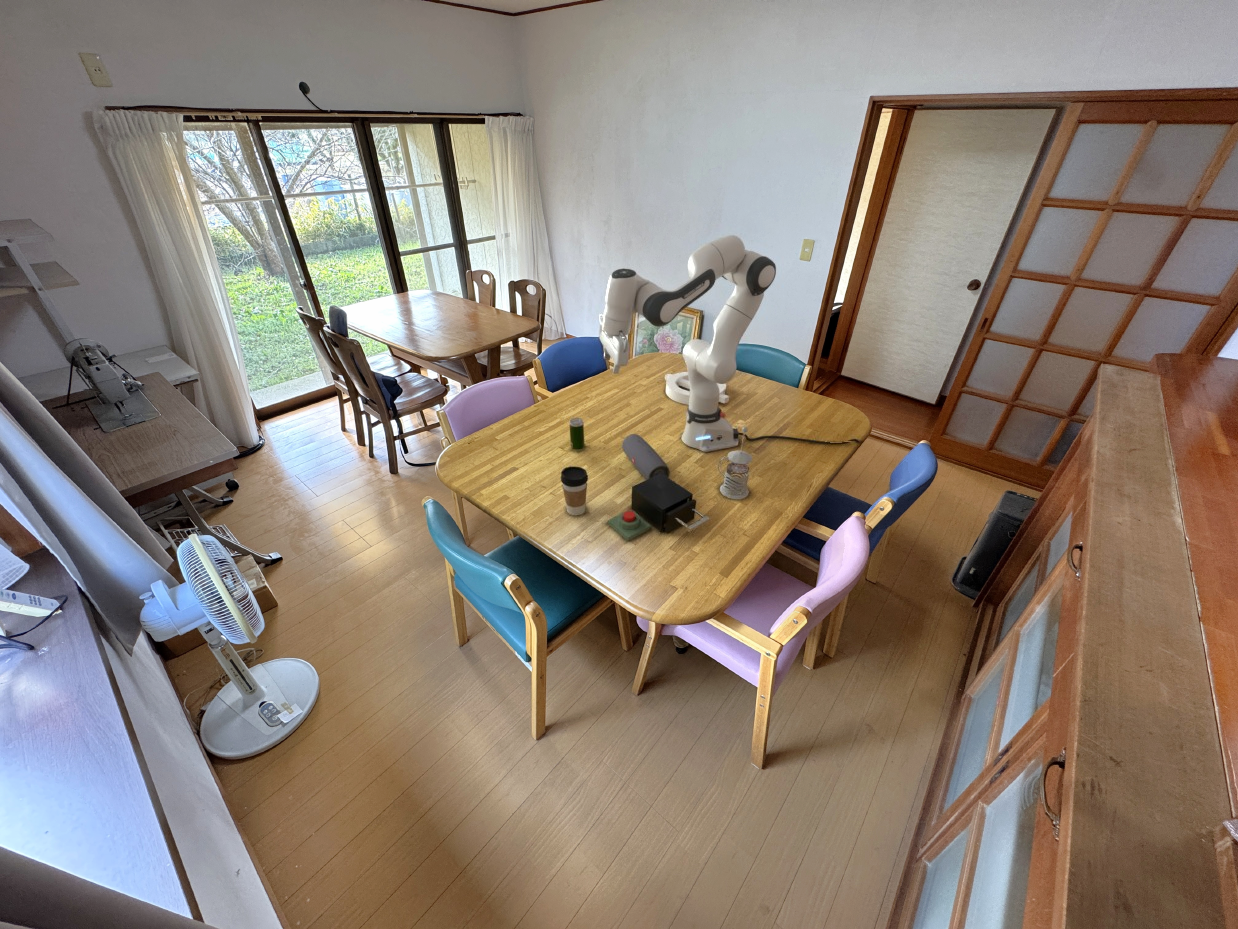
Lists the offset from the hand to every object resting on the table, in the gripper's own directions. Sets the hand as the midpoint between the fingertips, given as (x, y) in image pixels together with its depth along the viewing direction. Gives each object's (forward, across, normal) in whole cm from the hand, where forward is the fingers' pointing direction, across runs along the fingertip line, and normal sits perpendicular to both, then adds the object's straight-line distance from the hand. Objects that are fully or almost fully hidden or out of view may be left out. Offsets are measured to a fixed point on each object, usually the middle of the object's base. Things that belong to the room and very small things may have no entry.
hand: (610, 365), depth 156 cm
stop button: (+33, -37, +1) cm, 50 cm away
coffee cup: (+39, -25, +14) cm, 48 cm away
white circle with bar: (+37, +44, -61) cm, 84 cm away
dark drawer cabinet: (+35, -34, -11) cm, 50 cm away
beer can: (+41, +12, +4) cm, 43 cm away
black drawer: (+33, -40, -13) cm, 54 cm away
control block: (+36, -37, +1) cm, 52 cm away
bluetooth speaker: (+37, -10, -15) cm, 41 cm away
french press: (+33, -30, -39) cm, 59 cm away
